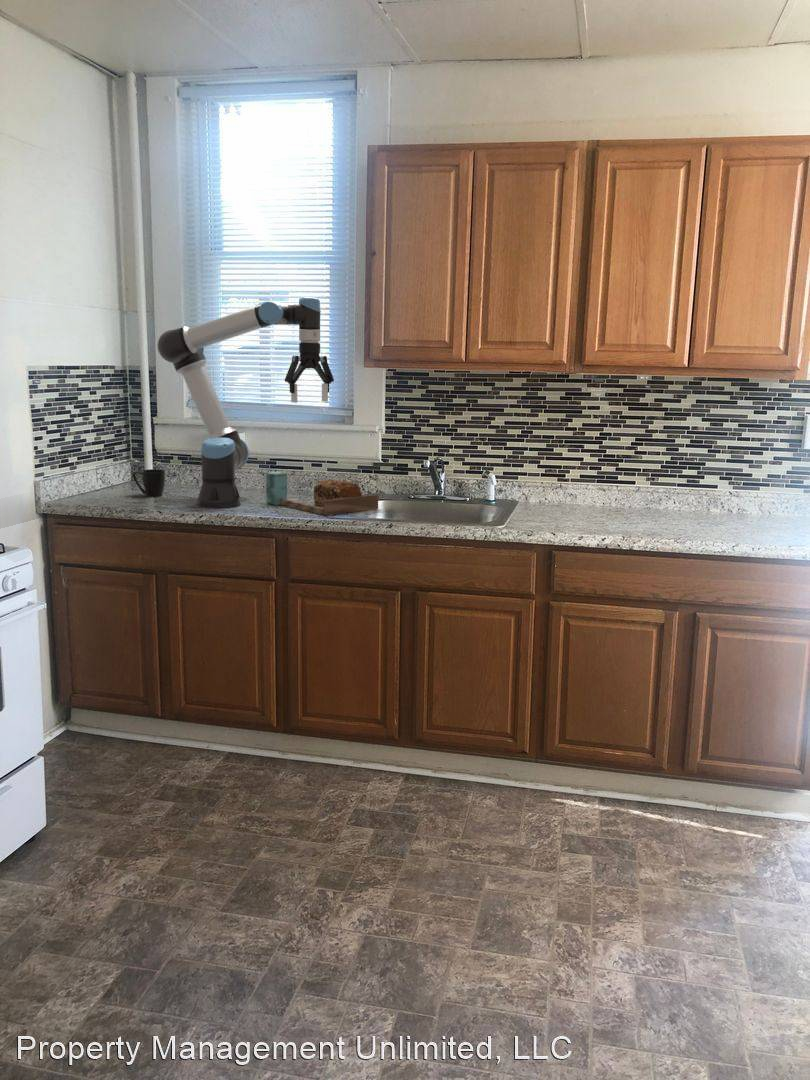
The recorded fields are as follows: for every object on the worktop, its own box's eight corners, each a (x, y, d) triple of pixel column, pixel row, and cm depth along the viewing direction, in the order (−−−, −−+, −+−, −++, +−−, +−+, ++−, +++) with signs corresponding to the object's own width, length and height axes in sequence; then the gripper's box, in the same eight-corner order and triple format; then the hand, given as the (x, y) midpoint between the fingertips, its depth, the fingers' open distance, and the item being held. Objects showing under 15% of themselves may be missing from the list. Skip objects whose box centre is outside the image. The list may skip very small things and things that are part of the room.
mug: (138, 493, 350) (137, 468, 348) (168, 494, 349) (168, 469, 347) (130, 496, 342) (129, 471, 340) (161, 497, 341) (160, 472, 339)
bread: (362, 510, 324) (362, 482, 322) (335, 512, 319) (335, 484, 317) (338, 502, 340) (338, 476, 338) (312, 504, 335) (312, 477, 333)
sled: (266, 502, 335) (266, 472, 332) (322, 496, 351) (322, 467, 349) (320, 516, 310) (320, 484, 308) (378, 508, 327) (378, 478, 325)
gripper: (286, 341, 316) (287, 403, 321) (343, 342, 333) (343, 401, 337) (274, 341, 322) (275, 402, 326) (331, 342, 338) (330, 400, 342)
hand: (309, 402), depth 331 cm, fingers open, 13 cm apart
